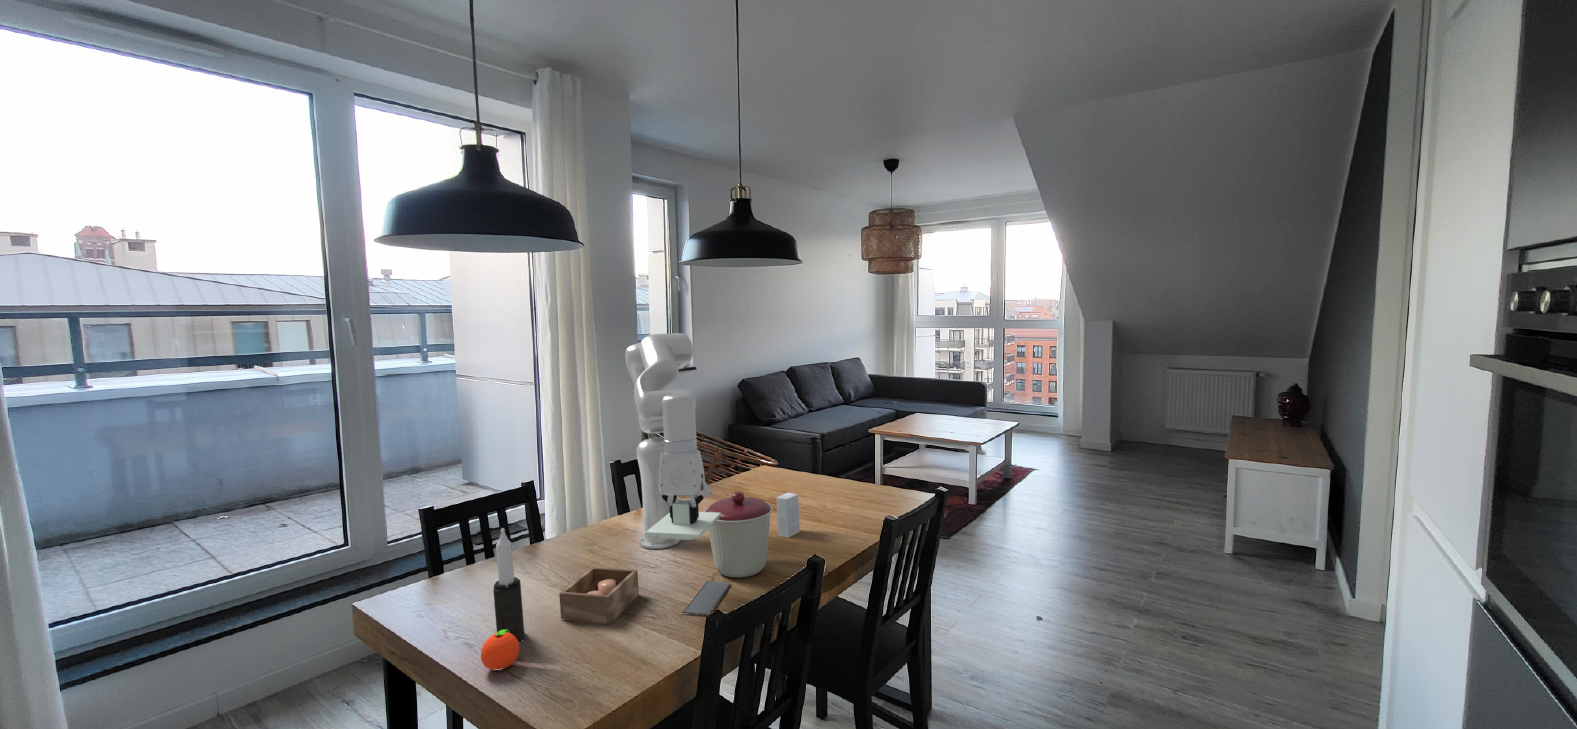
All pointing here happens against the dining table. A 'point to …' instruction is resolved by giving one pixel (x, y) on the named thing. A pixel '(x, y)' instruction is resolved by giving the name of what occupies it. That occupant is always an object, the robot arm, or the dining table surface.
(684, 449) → the robot arm
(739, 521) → the canister
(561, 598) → the box
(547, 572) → the dining table surface
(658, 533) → the lid
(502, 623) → the candle
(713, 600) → the trivet
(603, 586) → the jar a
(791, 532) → the skincare box
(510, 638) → the clementine
